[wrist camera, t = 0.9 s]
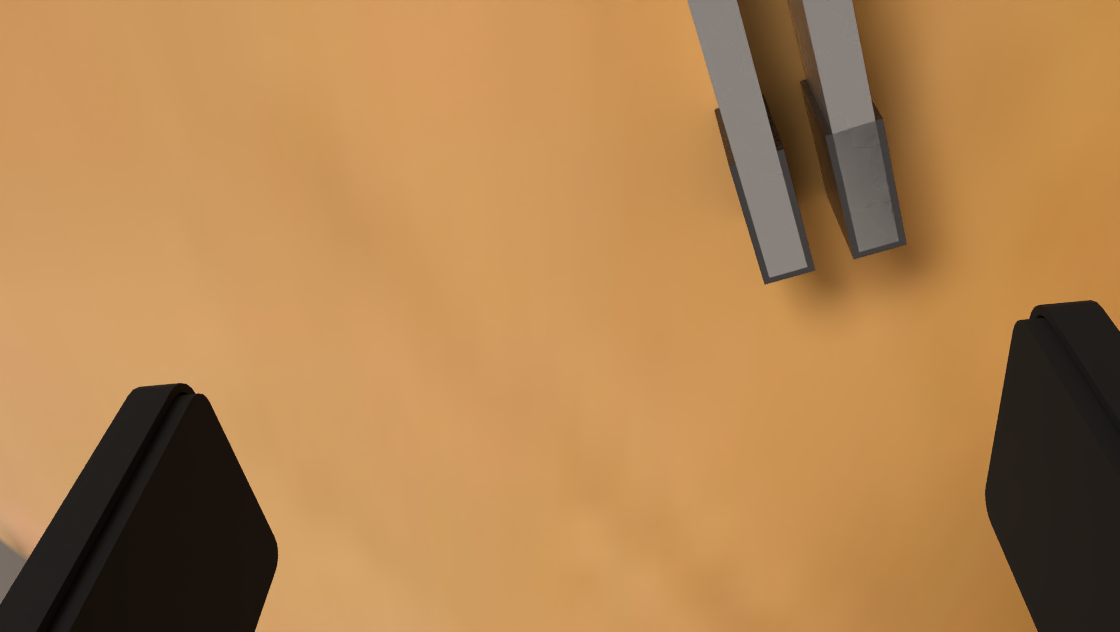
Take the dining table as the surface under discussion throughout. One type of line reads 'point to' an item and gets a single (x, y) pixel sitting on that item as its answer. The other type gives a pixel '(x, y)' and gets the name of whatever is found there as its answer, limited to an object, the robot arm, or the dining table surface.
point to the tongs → (837, 126)
